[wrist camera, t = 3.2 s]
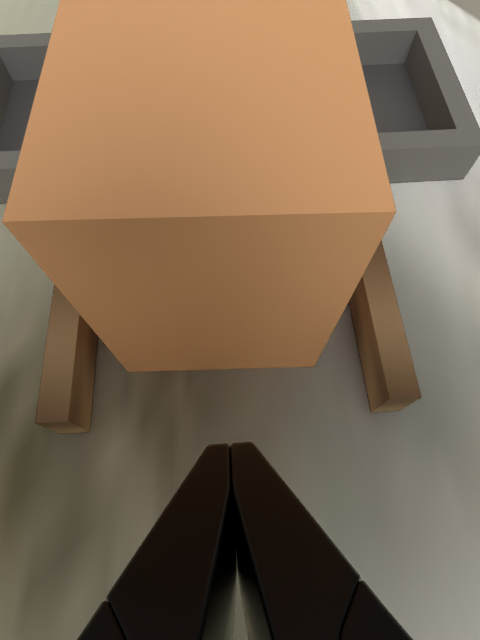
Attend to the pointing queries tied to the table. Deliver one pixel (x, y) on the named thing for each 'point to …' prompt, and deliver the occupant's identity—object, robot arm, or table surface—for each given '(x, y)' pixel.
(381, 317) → the small wooden bench
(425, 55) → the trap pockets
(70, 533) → the table surface
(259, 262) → the orange tan rectangular block
